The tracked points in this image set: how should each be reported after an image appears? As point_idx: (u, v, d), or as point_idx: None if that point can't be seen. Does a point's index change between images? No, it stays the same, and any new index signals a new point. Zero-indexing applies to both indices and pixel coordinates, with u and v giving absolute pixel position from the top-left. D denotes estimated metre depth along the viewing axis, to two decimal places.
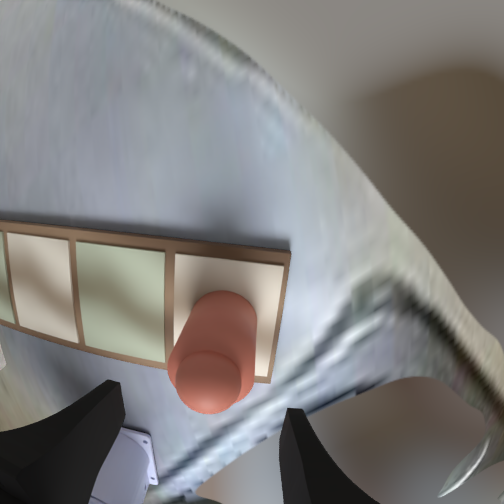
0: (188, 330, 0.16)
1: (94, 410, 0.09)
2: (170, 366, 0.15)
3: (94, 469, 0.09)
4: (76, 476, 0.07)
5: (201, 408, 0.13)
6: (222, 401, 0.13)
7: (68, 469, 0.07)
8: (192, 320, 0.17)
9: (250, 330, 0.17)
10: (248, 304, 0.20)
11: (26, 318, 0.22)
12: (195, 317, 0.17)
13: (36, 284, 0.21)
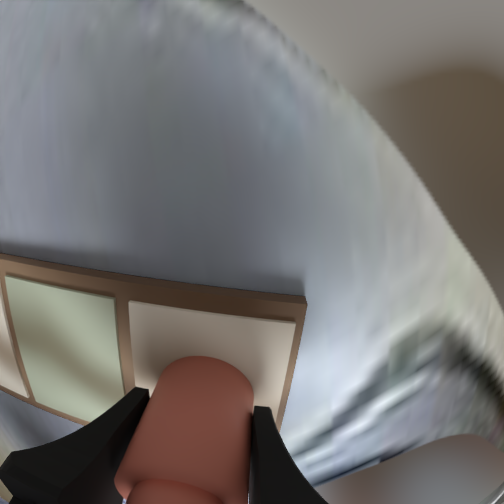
0: (141, 439, 0.08)
1: (126, 419, 0.09)
2: (119, 486, 0.07)
3: None
4: (110, 488, 0.07)
5: None
6: None
7: (103, 482, 0.07)
8: (150, 416, 0.09)
9: (242, 430, 0.10)
10: (240, 377, 0.12)
11: None
12: (155, 410, 0.10)
13: None
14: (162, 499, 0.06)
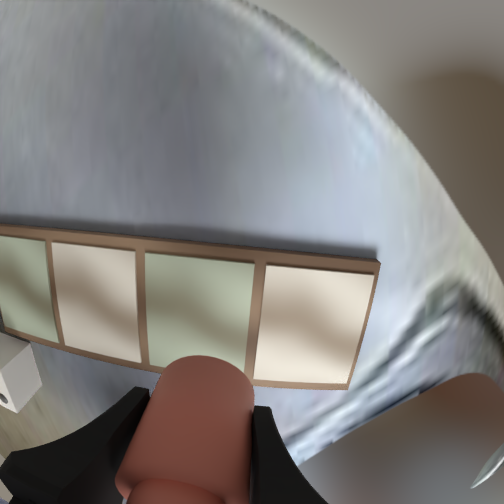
0: (142, 439, 0.08)
1: (126, 419, 0.09)
2: (119, 485, 0.07)
3: None
4: (110, 488, 0.07)
5: None
6: None
7: (103, 482, 0.07)
8: (151, 415, 0.09)
9: (243, 429, 0.10)
10: (241, 377, 0.12)
11: (74, 337, 0.21)
12: (156, 410, 0.10)
13: (90, 300, 0.20)
14: (163, 499, 0.06)
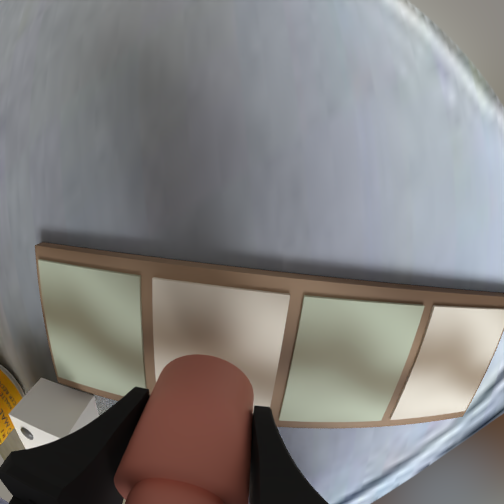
0: (141, 438, 0.08)
1: (126, 419, 0.09)
2: (118, 485, 0.07)
3: None
4: (110, 488, 0.07)
5: None
6: None
7: (103, 482, 0.07)
8: (150, 415, 0.09)
9: (242, 428, 0.10)
10: (240, 376, 0.12)
11: None
12: (155, 409, 0.10)
13: (209, 354, 0.16)
14: (162, 498, 0.06)
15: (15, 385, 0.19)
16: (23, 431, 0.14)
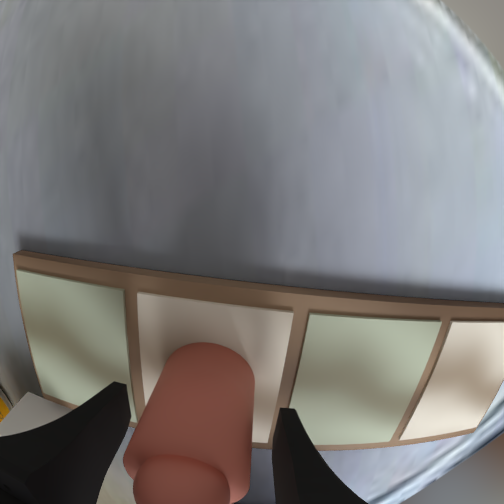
0: (150, 418, 0.09)
1: (101, 412, 0.09)
2: (127, 464, 0.08)
3: (101, 471, 0.09)
4: (83, 479, 0.07)
5: None
6: None
7: (76, 472, 0.07)
8: (158, 397, 0.10)
9: (244, 410, 0.11)
10: (242, 362, 0.13)
11: None
12: (162, 392, 0.11)
13: None
14: (170, 472, 0.07)
15: (2, 398, 0.17)
16: None
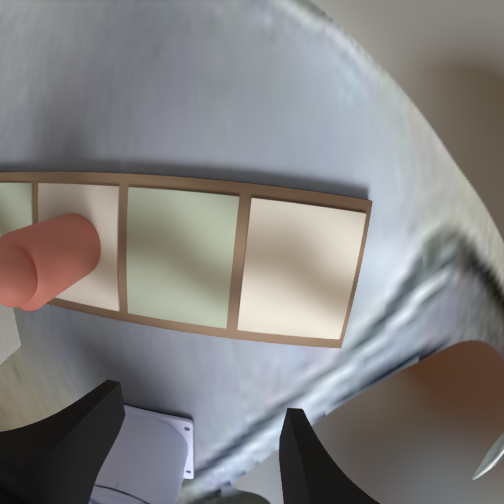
0: None
1: (94, 410, 0.09)
2: None
3: (95, 469, 0.09)
4: (76, 476, 0.07)
5: None
6: (4, 286, 0.11)
7: (68, 469, 0.07)
8: None
9: (68, 240, 0.16)
10: (88, 224, 0.18)
11: None
12: None
13: None
14: (3, 247, 0.12)
15: None
16: None
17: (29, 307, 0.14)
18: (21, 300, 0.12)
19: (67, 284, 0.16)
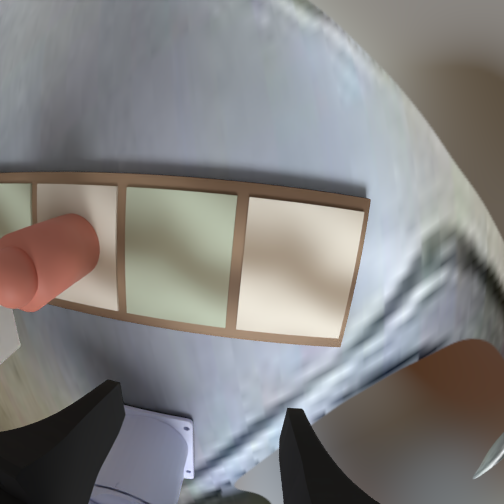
0: None
1: (94, 410, 0.09)
2: None
3: (95, 468, 0.09)
4: (76, 476, 0.07)
5: None
6: (5, 287, 0.11)
7: (68, 469, 0.07)
8: None
9: (68, 240, 0.16)
10: (87, 224, 0.18)
11: None
12: None
13: None
14: (3, 249, 0.12)
15: None
16: None
17: (30, 308, 0.14)
18: (22, 301, 0.12)
19: (67, 284, 0.16)
